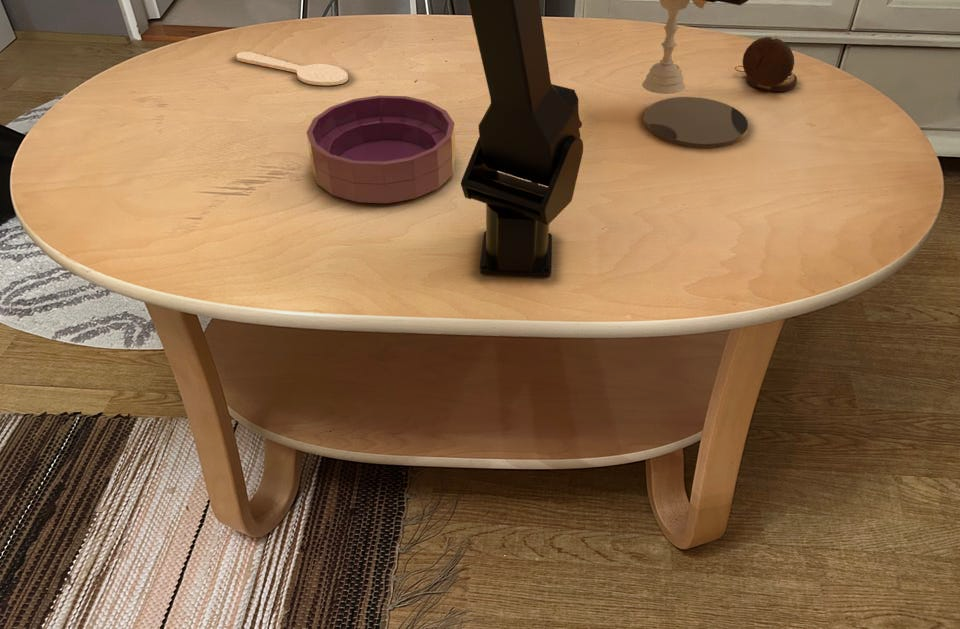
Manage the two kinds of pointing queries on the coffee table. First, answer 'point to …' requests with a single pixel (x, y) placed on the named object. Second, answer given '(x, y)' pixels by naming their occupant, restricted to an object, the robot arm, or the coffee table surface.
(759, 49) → the compass
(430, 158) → the plum bowl
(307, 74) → the spoon
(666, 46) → the chalice
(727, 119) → the slate coaster
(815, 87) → the coffee table surface
